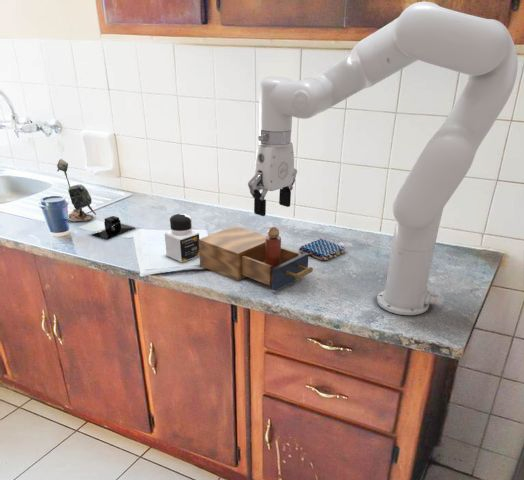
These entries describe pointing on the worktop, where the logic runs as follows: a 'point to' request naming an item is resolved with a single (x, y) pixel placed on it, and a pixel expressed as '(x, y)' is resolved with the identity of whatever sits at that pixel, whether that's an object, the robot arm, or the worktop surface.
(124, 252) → the worktop surface
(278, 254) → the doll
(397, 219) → the robot arm
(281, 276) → the drawer
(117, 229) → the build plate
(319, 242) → the woven mat
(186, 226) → the medicine bottle
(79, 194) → the bird figurine
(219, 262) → the cabinet
